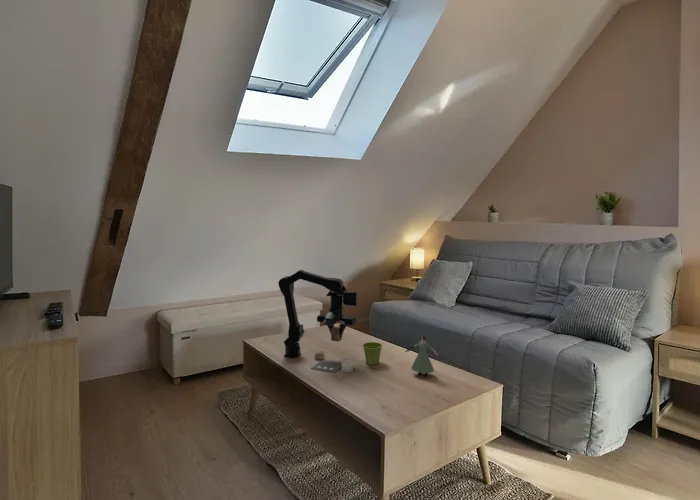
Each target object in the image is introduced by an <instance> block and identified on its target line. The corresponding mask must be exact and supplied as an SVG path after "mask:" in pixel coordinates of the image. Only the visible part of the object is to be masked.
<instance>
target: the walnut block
mask: <svg viewBox="0 0 700 500" xmlns="http://www.w3.org/2000/svg"><path fill="white" fill-rule="evenodd" d="M330 339H331V340H330V341H331V342H341V341H342V340H343V336H342V337H341V338H340V326H335V325H334V327H333V328H331V333H330Z"/></svg>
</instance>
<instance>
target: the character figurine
mask: <svg viewBox="0 0 700 500" xmlns="http://www.w3.org/2000/svg"><path fill="white" fill-rule="evenodd" d="M426 340H427V338H426V336H425V335H424V334H423V335H421V336H420V341H419V342H418V343H416V344H414V345H413V346H411V347H409V348H407V349H406V350H405V351H404V353H407V352H410V351H411V350H412V349H416V348H418V350H419V352H418V353H417V356H416V358H415V359H414V361H413V363H412V365H411V368H410V369H411V370H413V371H414V372H417V375H416V376H418V377H419V376H421V375H422V373H424V376H423V377H424V378H427V377H429V376H428V375H429V374H431V373H434V372H435V369H434V366H433V363H432V362H431V359H430V358H429V355H428V353H427V349H429V350H430V351H433V354H434V355H436V356H439V353H438V352H437V351H435V349H434V348H433V347H432V346H431V345H430V344H429V343H428V342H427V341H426Z"/></svg>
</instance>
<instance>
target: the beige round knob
mask: <svg viewBox="0 0 700 500" xmlns="http://www.w3.org/2000/svg"><path fill="white" fill-rule="evenodd" d="M314 360H316V361H317V360H318V361H322V360H325V351H323V350H317V351H316V350H315V352H314Z"/></svg>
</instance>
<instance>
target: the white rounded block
mask: <svg viewBox="0 0 700 500" xmlns="http://www.w3.org/2000/svg"><path fill="white" fill-rule="evenodd" d="M353 361H354V360H353V358H349V357H345V358H342V359H341V363H342V367H341V372H342V373H346V374H349V373H353V371H354V367H353V365H354V363H353Z"/></svg>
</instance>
